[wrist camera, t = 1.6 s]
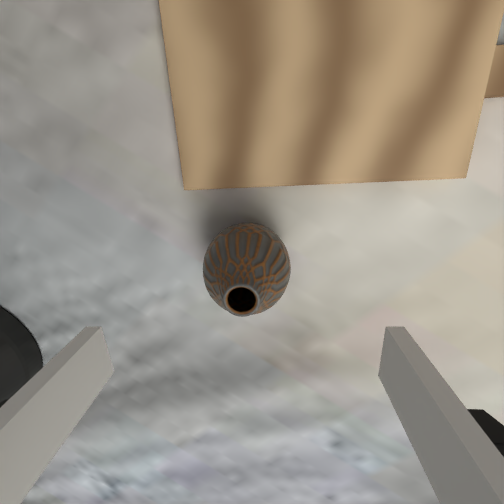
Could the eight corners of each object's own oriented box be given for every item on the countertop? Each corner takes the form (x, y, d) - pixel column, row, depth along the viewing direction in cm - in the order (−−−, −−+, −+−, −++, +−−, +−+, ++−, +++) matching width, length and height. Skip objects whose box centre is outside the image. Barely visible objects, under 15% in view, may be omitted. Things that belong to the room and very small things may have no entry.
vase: (267, 201, 23) (267, 229, 15) (298, 267, 25) (314, 323, 17) (199, 235, 24) (165, 276, 16) (234, 294, 26) (219, 359, 18)
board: (188, 188, 23) (184, 190, 22) (161, -23, 18) (153, -34, 17) (486, 175, 21) (499, 176, 20) (546, -60, 16) (566, -76, 15)
